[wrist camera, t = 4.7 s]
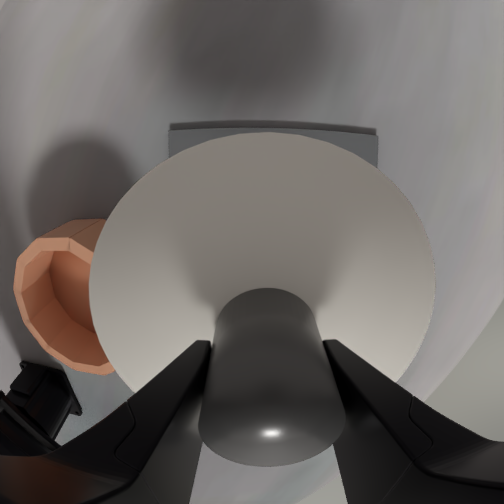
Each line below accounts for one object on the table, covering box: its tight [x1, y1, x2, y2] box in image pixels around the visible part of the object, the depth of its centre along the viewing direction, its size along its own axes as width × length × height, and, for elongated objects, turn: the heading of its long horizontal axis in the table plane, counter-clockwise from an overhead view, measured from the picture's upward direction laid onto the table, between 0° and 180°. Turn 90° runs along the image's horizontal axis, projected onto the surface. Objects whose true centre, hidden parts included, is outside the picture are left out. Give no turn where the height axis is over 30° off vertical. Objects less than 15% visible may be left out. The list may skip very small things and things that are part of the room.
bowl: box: [13, 219, 116, 375], centre depth 19 cm, size 10×10×4 cm
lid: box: [89, 132, 436, 467], centre depth 8 cm, size 12×12×5 cm
